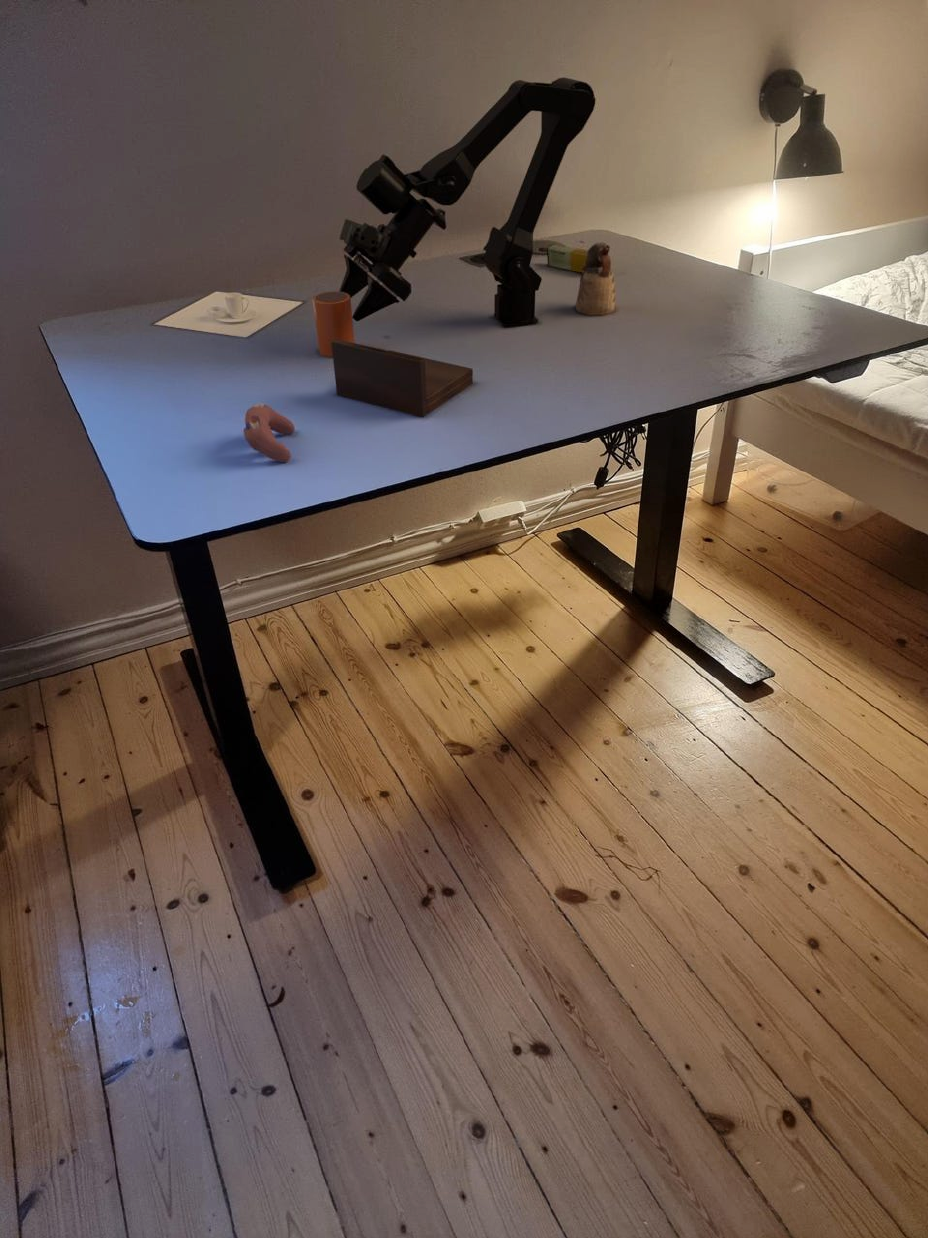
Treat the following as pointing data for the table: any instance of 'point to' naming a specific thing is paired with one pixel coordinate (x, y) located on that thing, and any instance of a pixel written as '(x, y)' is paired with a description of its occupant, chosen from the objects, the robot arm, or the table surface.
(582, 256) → the medication box
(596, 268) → the figurine
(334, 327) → the cup
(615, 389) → the table surface
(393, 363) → the dark brown wooden piece
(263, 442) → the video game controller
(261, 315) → the teacup and saucer
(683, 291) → the table surface
